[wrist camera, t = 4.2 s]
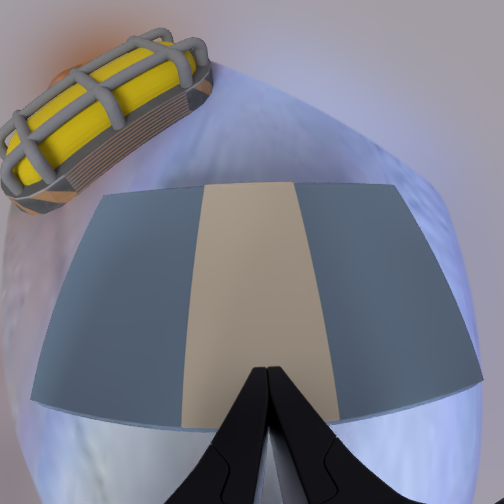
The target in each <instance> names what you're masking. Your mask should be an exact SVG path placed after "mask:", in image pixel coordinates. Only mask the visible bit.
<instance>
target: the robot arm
mask: <svg viewBox="0 0 504 504" xmlns="http://www.w3.org/2000/svg"><path fill="white" fill-rule="evenodd" d="M268 427H269V434H270V440H271V445H272V450H273V455H274V460H275V465H276V470H277V475H278V479H279V484H280V489H281V494H282V499H283V504H425V503H421V502H416V501H413V500H410V499H408V498H406V497H404V496H402V495H400V494H399V493H397V492H396V491H395V490H393V489H392V488H391V487H390V486H388V485H387V484H386V483H385V482H383V481H382V480H381V479H380V478H379V477H377V476H376V475H375V474H374V473H373V472H371V471H370V470H369V469H368V468H367V467H366V466H365V465H363V464H362V463H361V462H360V461H359V460H358V459H357V458H356V457H355V456H354V455H353V454H352V453H351V452H350V451H349V450H348V449H347V447H346V446H345V445H344V444H343V443H342V442H341V440H340V439H339V438H338V437H337V438H336V435H335V434H334V432H333V431H332V430H331V429H330V427H329V426H328V425H327V424H326V423H325V421H324V420H323V419H322V418H321V417H320V415H319V414H318V413H317V412H316V410H315V409H314V408H313V407H312V405H311V404H310V403H309V402H308V400H307V399H306V398H305V397H304V395H303V394H302V393H301V392H300V390H299V389H298V388H297V387H296V385H295V384H294V383H293V382H292V380H291V379H290V378H289V376H288V375H287V374H286V373H285V371H284V370H283V369H282V367H280V366H269V367H267V368H266V367H253V368H252V370H251V372H250V374H249V376H248V378H247V379H246V381H245V383H244V385H243V387H242V389H241V390H240V392H239V394H238V396H237V398H236V400H235V401H234V403H233V405H232V407H231V408H230V410H229V412H228V414H227V416H226V417H225V419H224V421H223V423H222V424H221V426H220V428H219V430H218V431H217V433H216V435H215V436H214V438H213V440H212V442H211V444H210V445H209V446H208V448H207V450H206V451H205V453H204V455H203V456H202V458H201V459H200V461H199V462H198V464H197V465H196V467H195V468H194V469H193V471H192V472H191V473H190V474H189V476H188V477H187V478H186V479H185V480H184V482H183V483H182V484H181V485H180V486H179V487H178V488H177V490H176V491H175V492H174V493H173V494H172V495H171V496H170V497H169V498H168V500H167V501H166V502H165V503H164V504H261V497H262V489H263V480H264V471H265V462H266V452H267V442H268ZM495 504H504V498H502V499H501V500H500V501H498V502H496V503H495Z"/></svg>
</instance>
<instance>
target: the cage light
mask: <svg viewBox="0 0 504 504" xmlns="http://www.w3.org/2000/svg"><path fill="white" fill-rule="evenodd" d="M159 37H160V38H162V41H163V42H162V41H161V42H154V41H152V40H154V39H157V38H159ZM126 53H128V54H126ZM124 54H126V55H124ZM122 55H124V56H122ZM120 56H122V57H120ZM118 57H120V58H118ZM116 58H118V59H116ZM114 59H116V60H114ZM113 60H114V61H113ZM111 61H113V62H111ZM109 62H111V63H109ZM107 63H109V64H107ZM106 64H107V65H106ZM104 65H106V66H104ZM102 66H104V67H102ZM100 67H102V68H100ZM99 68H100V69H99ZM97 69H99V70H97ZM95 70H97V71H95ZM94 71H95V72H94ZM92 72H94V73H92ZM90 73H92V74H91V75H89V74H90ZM72 85H73V86H72ZM70 86H72V87H70ZM69 87H70V88H69ZM212 87H213V79H212V70H211V62H210V60H209V58H208V52H207V47H206V44H205V42H204V41H203V40H201V39H200V38H195V37H192V38H187V39H185V40H183V41H180V42H178V43H174V42H173V37H172V34H171V32H170V31H169V30H167V29H165V28H157V29H154V30H151V31H149V32H147V33H145V34H142V35H140V36H131V37H129V38H128V39H127V41H126V43H123V44H121V45H120V46H118V47H116V48H114V49H112V50H110V51H108V52H106V53H104V54H103V55H101V56H100V57H97V58H96V59H94V60H92V61H90V62H89V63H87V64H85V65H84V66H82V67H81V68H73V69H72V70H71V71H70V72H69V75H68V76H67V77H65V78H64V79H62V80H61V81H59V82H58V83H56V84H55V85H53V86H52V87H51V88H49V89H48V90H47V91H45V92H44V93H43V94H41V95H40V96H38V97H37V98H36V99H35V100H34V101H32V102H31V103H30V104H28V105H27V106H26V107H25V108H23V109H22V110H16V111H15V112H14V113H13V117H12V119H11V120H9V121H8V122H7V123H6V124H5V125H4V126H3V127H2V128H1V129H0V157H1V158H2V159H3V162H2V165H1V169H0V175H1V188H2V189H3V191H4V193H5V195H6V196H7V197H8V198H9V199H10V200H11V201H12V202H13V203H14V204H15V205H16V206H17V207H18V208H19V209H20V210H21V211H23V212H26V213H28V214H31V215H36V214H45V213H48V212H50V211H52V210H55V209H57V208H59V207H61V206H63V205H64V204H66V203H67V202H68V201H70V200H71V199H72V198H74V197H75V196H77V195H78V194H79V193H81V192H82V191H83V190H84V189H85V188H86V187H88V186H89V185H90V184H91V183H92V182H94V181H95V180H96V179H97V178H99V177H100V176H101V175H102V174H104V173H105V172H106V171H107V170H109V169H110V168H111V167H113V166H114V165H115V164H116V163H118V162H119V161H120V160H122V159H123V158H124V157H126V156H127V155H129V154H130V153H131V152H133V151H134V150H135V149H137V148H138V147H140V146H141V145H143V144H144V143H145V142H147V141H148V140H150V139H151V138H153V137H154V136H156V135H157V134H159V133H160V132H162V131H163V130H165V129H166V128H168V127H169V126H171V125H172V124H174V123H176V122H177V121H179V120H180V119H182V118H184V117H185V116H187V115H189V114H190V113H192V112H193V111H194V110H196V109H197V108H198V107H200V106H201V105H202V104H204V102H205V101H206V100H207V98H208V97H209V96H210V94H211V92H212ZM67 88H69V89H68V90H66V89H67ZM64 90H66V91H65V92H63V91H64ZM62 92H63V93H62ZM60 93H62V94H60ZM59 94H60V95H59ZM57 95H59V96H58V97H56V96H57ZM55 97H56V98H55ZM53 98H55V99H53ZM52 99H53V100H52ZM51 100H52V101H51ZM49 101H51V102H49ZM48 102H49V103H48ZM47 103H48V104H47ZM45 104H47V105H45ZM44 105H45V106H44ZM43 106H44V107H43ZM41 107H43V108H42V109H40V108H41ZM39 109H40V110H39ZM38 110H39V111H38ZM36 111H38V112H37V113H35V112H36ZM34 113H35V114H34ZM33 114H34V115H33ZM31 115H33V116H32V117H30V116H31ZM29 117H30V118H29ZM28 118H29V119H28ZM27 119H28V120H27ZM15 129H16V132H15V133H14V134H13V136H12V138H11V140H10V142H9V145H8V147H7V146H6V144H5V142H4V141H5V139H6V137H7V136H8V135H9V134H10V133H12V132H13V131H14V130H15Z"/></svg>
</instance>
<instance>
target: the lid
mask: <svg viewBox="0 0 504 504" xmlns="http://www.w3.org/2000/svg"><path fill="white" fill-rule="evenodd" d="M269 366H280V367H282V369H283V370H284V371H285V373H286V374H287V375H288V376H289V378H290V379H291V380H292V382H293V383H294V384H295V385H296V387H297V388H298V389H299V390H300V392H301V393H302V394H303V395H304V397H305V398H306V399H307V400H308V402H309V403H310V404H311V405H312V407H313V408H314V409H315V410H316V412H317V413H318V414H319V415H320V417H321V418H322V419H323V420H324V421H325V423H326V424H327V425H335V424H341V423H347V422H353V421H358V420H363V419H368V418H373V417H378V416H382V415H386V414H390V413H395V412H399V411H402V410H406V409H410V408H413V407H417V406H420V405H424V404H427V403H430V402H433V401H437V400H440V399H443V398H446V397H448V396H451V395H454V394H457V393H460V392H462V391H465V390H468V389H470V388H472V387H474V386H475V385H477V384H478V383H480V382H481V381H483V380H484V379H483V376H482V372H481V369H480V366H479V362H478V359H477V356H476V353H475V350H474V347H473V344H472V341H471V339H470V336H469V333H468V330H467V328H466V325H465V322H464V320H463V317H462V315H461V312H460V310H459V307H458V305H457V303H456V300H455V298H454V296H453V293H452V291H451V289H450V287H449V284H448V282H447V280H446V278H445V276H444V274H443V272H442V269H441V267H440V265H439V263H438V261H437V259H436V257H435V255H434V253H433V251H432V250H431V248H430V246H429V244H428V242H427V240H426V238H425V236H424V235H423V233H422V231H421V229H420V227H419V226H418V224H417V222H416V220H415V219H414V217H413V215H412V213H411V212H410V210H409V208H408V207H407V205H406V203H405V202H404V200H403V199H402V197H401V195H400V194H399V192H398V191H397V189H396V187H395V186H394V185H384V184H355V183H293V182H252V183H227V184H209V185H205V186H200V187H185V188H172V189H160V190H149V191H139V192H129V193H120V194H111V195H103V197H102V199H101V201H100V203H99V205H98V207H97V209H96V211H95V213H94V215H93V217H92V219H91V221H90V223H89V225H88V227H87V229H86V231H85V233H84V236H83V238H82V240H81V242H80V244H79V247H78V249H77V251H76V254H75V256H74V258H73V261H72V263H71V265H70V268H69V270H68V273H67V275H66V278H65V280H64V283H63V286H62V288H61V291H60V294H59V297H58V299H57V302H56V305H55V308H54V311H53V314H52V317H51V320H50V323H49V326H48V330H47V333H46V336H45V340H44V343H43V347H42V351H41V354H40V358H39V362H38V366H37V370H36V375H35V379H34V384H33V388H32V393H31V399H30V400H32V401H34V402H36V403H38V404H40V405H41V406H43V407H46V408H50V409H53V410H57V411H61V412H64V413H68V414H73V415H77V416H81V417H85V418H90V419H95V420H100V421H105V422H111V423H117V424H123V425H129V426H136V427H144V428H153V429H162V430H174V431H188V432H214V433H217V431H218V430H219V428H220V426H221V424H222V423H223V421H224V419H225V417H226V416H227V414H228V412H229V410H230V408H231V407H232V405H233V403H234V401H235V400H236V398H237V396H238V394H239V392H240V390H241V389H242V387H243V385H244V383H245V381H246V379H247V378H248V376H249V374H250V372H251V370H252V368H253V367H266V368H267V367H269ZM268 431H269V427H268Z"/></svg>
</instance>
